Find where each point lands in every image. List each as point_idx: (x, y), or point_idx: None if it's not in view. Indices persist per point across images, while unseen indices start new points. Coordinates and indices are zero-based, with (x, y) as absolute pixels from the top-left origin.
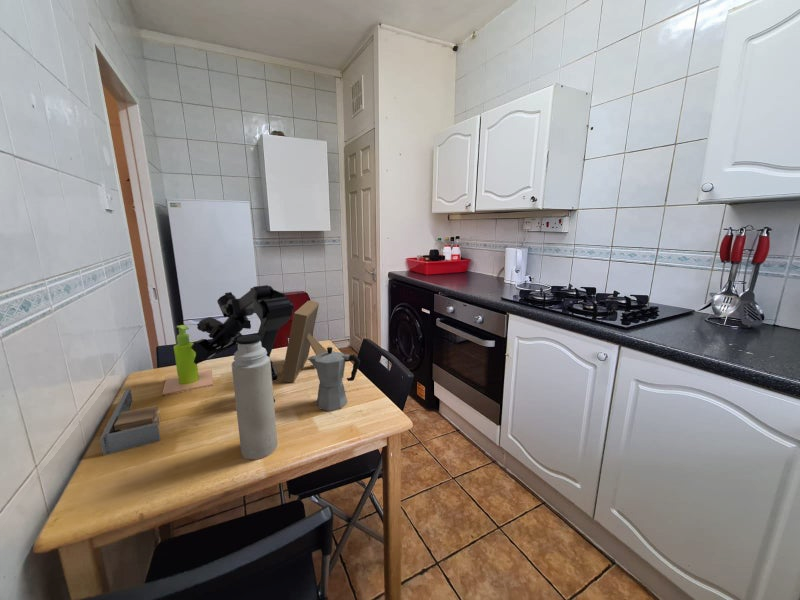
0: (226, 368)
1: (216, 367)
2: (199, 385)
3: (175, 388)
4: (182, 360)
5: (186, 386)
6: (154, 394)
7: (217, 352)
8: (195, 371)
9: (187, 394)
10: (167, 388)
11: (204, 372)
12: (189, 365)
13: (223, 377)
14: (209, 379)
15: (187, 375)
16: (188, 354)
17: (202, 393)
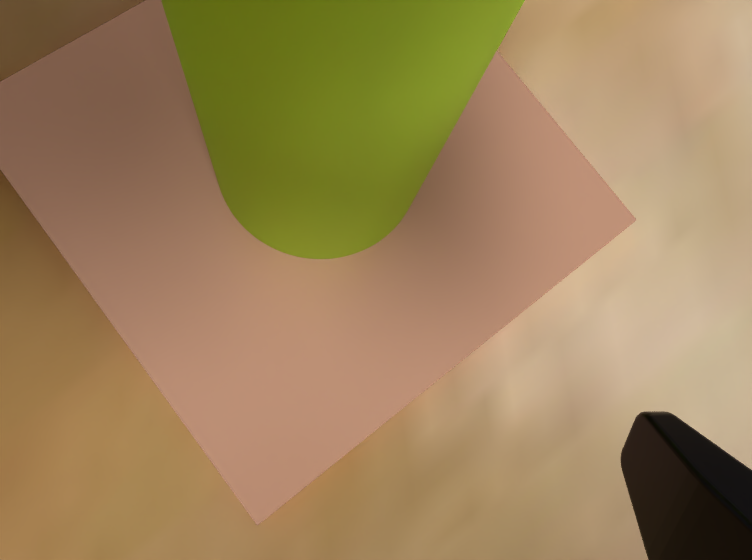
0: (728, 347)
1: (725, 208)
2: (201, 381)
3: (106, 151)
4: (164, 4)
5: (165, 241)
6: (4, 11)
7: (648, 541)
8: (323, 223)
9: (8, 372)
10: (102, 64)
11: (548, 188)
12: (241, 148)
13: (494, 491)
14: (376, 388)
15: (224, 178)
16: (232, 28)
17: (38, 545)
